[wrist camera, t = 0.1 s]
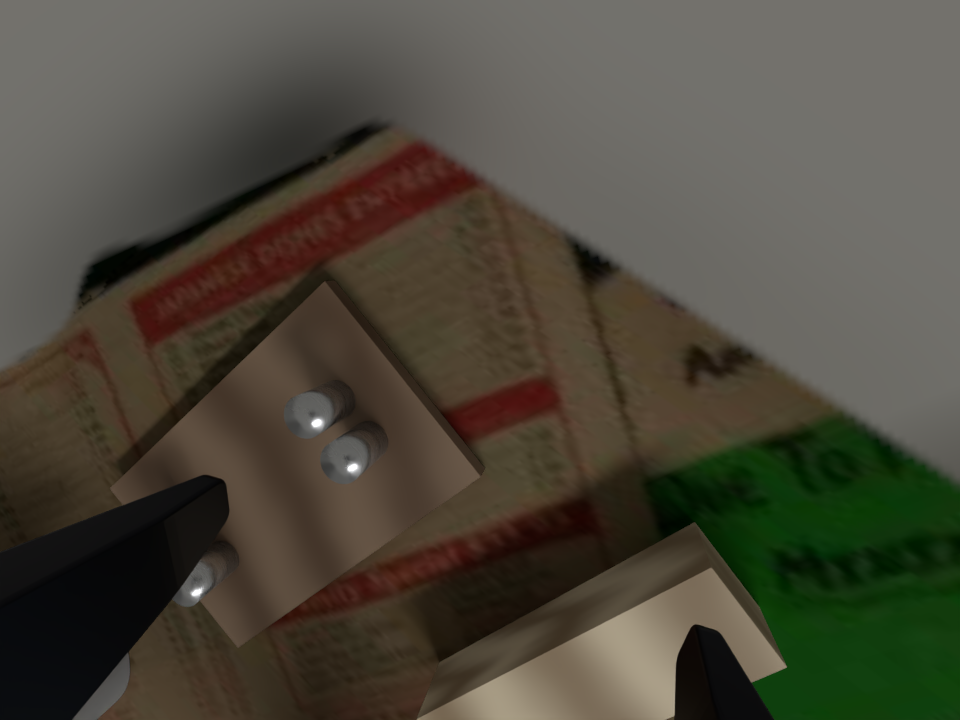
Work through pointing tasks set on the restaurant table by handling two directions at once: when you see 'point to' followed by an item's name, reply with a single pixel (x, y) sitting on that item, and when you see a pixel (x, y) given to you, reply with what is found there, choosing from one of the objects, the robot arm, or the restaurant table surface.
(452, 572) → the restaurant table surface
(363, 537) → the peg holder
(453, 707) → the pine board
